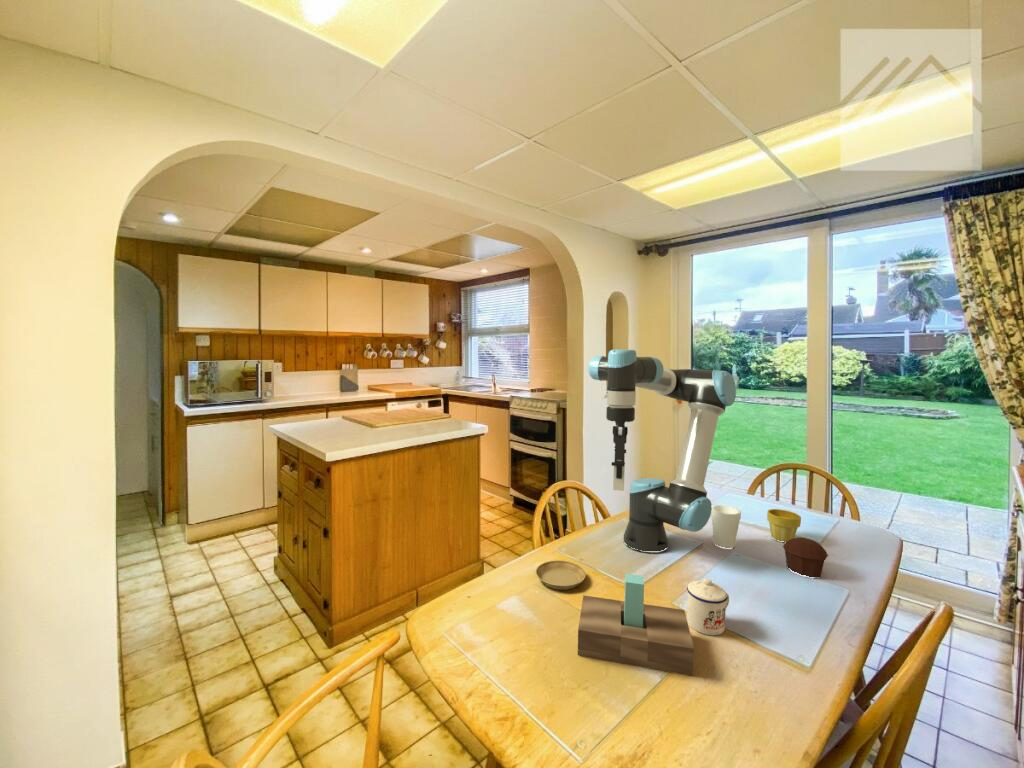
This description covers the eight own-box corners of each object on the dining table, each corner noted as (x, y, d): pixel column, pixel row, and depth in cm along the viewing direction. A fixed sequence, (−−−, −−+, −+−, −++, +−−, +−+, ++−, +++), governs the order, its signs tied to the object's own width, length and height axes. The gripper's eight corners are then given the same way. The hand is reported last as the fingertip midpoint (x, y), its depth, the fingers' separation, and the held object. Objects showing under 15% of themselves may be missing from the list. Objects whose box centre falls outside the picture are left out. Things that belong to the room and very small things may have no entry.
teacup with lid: (706, 640, 100) (708, 593, 100) (677, 618, 109) (679, 574, 108) (742, 628, 105) (745, 582, 104) (712, 608, 114) (714, 565, 113)
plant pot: (799, 537, 158) (800, 512, 157) (800, 548, 149) (801, 521, 149) (766, 531, 163) (767, 506, 163) (765, 541, 155) (767, 515, 154)
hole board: (582, 618, 109) (583, 595, 108) (683, 633, 103) (684, 609, 102) (577, 655, 95) (578, 629, 95) (693, 676, 89) (694, 648, 89)
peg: (623, 630, 101) (625, 573, 100) (641, 633, 100) (643, 575, 99) (623, 641, 97) (625, 582, 96) (642, 644, 97) (644, 584, 96)
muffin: (813, 563, 139) (815, 533, 138) (835, 581, 128) (837, 549, 127) (774, 561, 140) (776, 531, 139) (793, 579, 129) (795, 547, 128)
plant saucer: (545, 597, 118) (545, 588, 118) (529, 571, 132) (529, 563, 132) (594, 590, 122) (594, 581, 122) (573, 565, 136) (573, 557, 136)
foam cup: (703, 541, 154) (705, 506, 153) (724, 538, 157) (725, 503, 156) (724, 553, 145) (725, 516, 144) (745, 549, 148) (747, 513, 147)
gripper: (607, 400, 130) (606, 469, 131) (605, 411, 105) (603, 495, 107) (633, 401, 128) (631, 471, 129) (636, 412, 104) (634, 498, 105)
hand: (618, 482), depth 118 cm, fingers open, 13 cm apart
